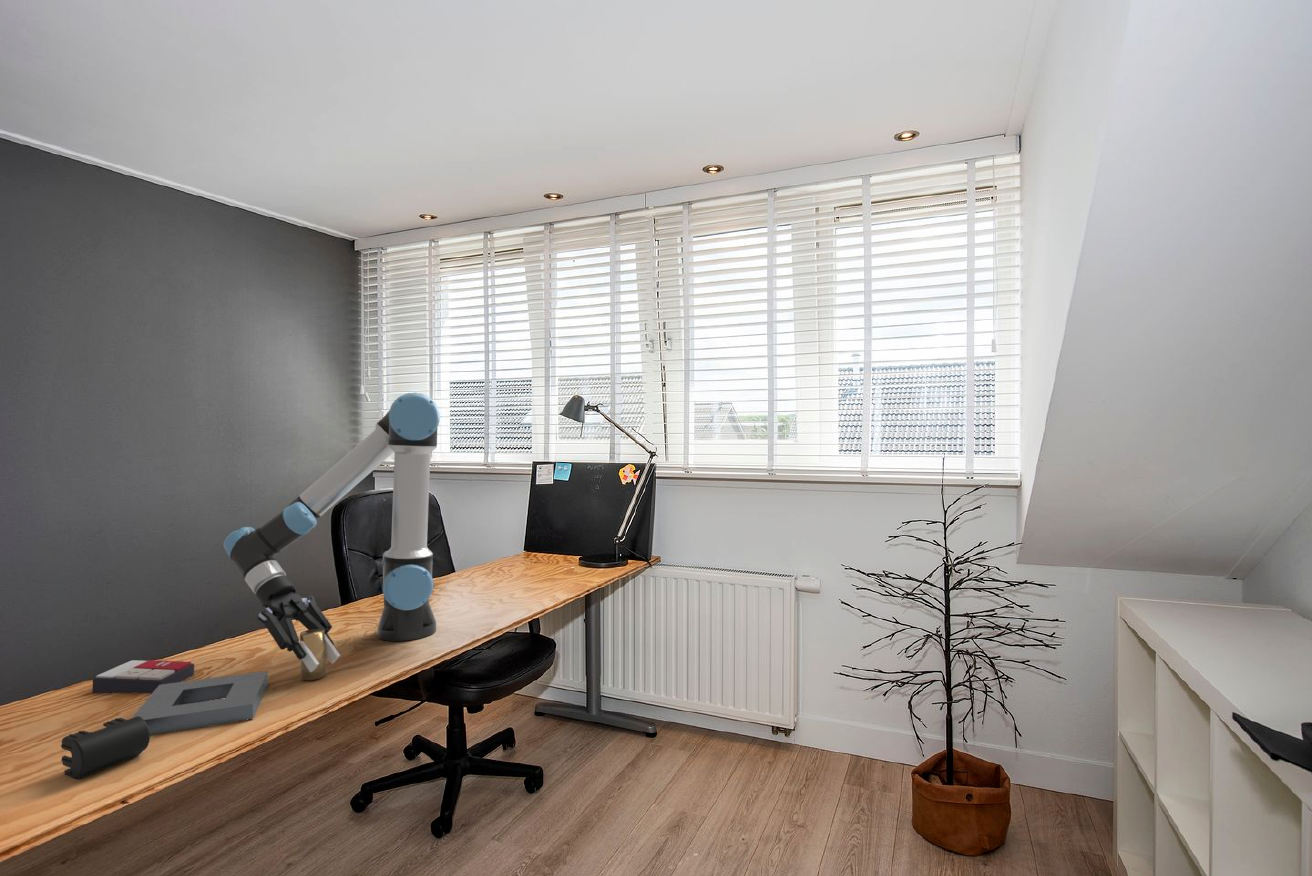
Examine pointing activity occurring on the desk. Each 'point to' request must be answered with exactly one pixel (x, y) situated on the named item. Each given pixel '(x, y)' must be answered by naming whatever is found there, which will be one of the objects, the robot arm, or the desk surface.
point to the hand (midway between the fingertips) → (325, 663)
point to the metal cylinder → (314, 653)
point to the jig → (203, 702)
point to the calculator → (141, 676)
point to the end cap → (104, 746)
